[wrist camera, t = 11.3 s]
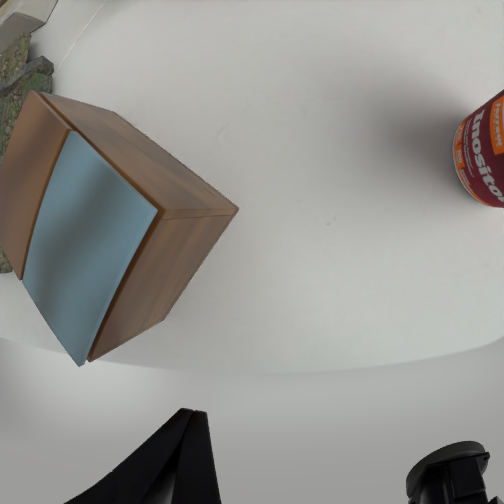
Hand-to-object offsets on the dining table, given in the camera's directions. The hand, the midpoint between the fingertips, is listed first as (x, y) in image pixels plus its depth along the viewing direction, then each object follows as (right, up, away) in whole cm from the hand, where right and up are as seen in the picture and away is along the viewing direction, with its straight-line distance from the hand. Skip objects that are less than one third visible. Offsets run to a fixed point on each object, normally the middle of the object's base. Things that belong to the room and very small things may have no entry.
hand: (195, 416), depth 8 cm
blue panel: (-8, +5, +5) cm, 11 cm away
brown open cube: (-8, +9, +14) cm, 18 cm away
